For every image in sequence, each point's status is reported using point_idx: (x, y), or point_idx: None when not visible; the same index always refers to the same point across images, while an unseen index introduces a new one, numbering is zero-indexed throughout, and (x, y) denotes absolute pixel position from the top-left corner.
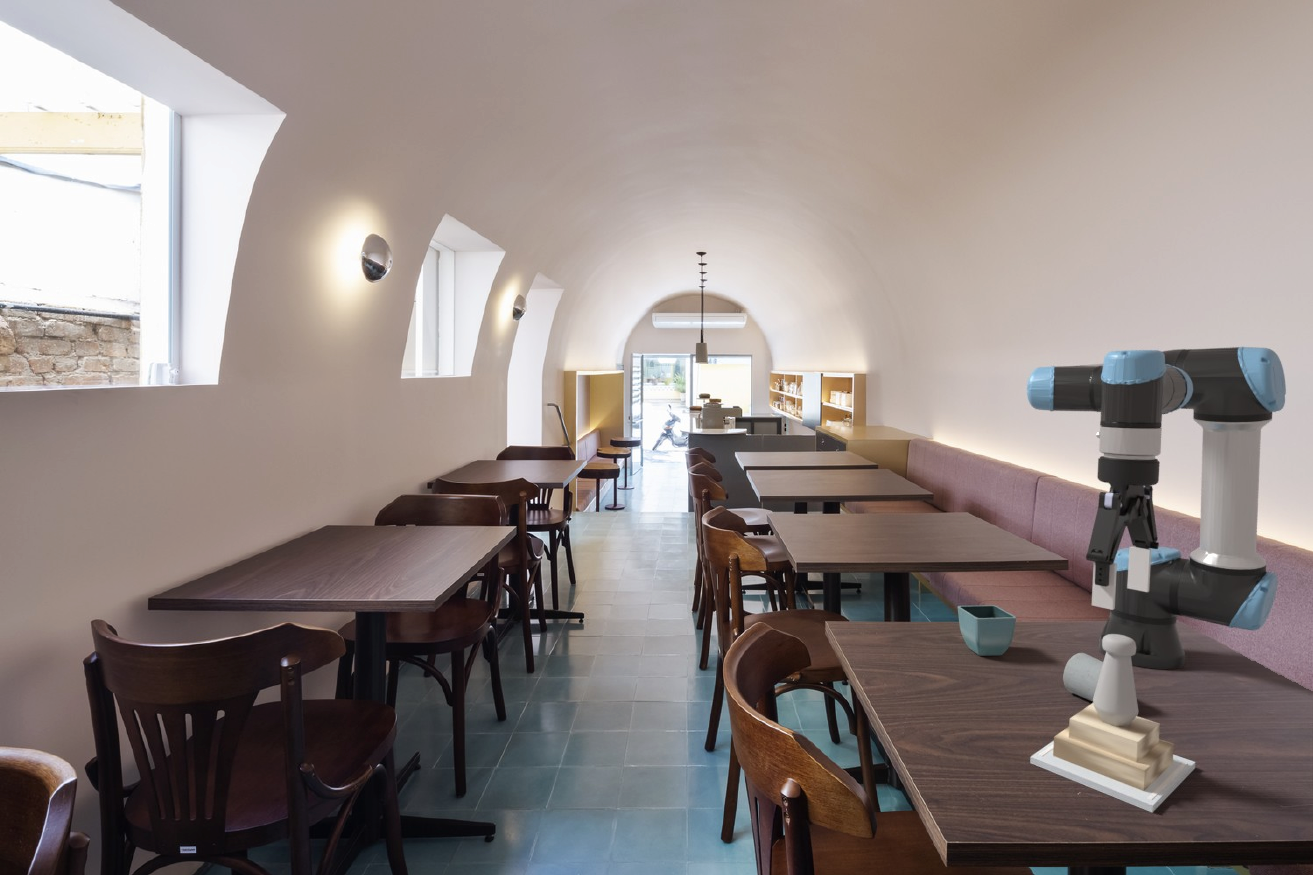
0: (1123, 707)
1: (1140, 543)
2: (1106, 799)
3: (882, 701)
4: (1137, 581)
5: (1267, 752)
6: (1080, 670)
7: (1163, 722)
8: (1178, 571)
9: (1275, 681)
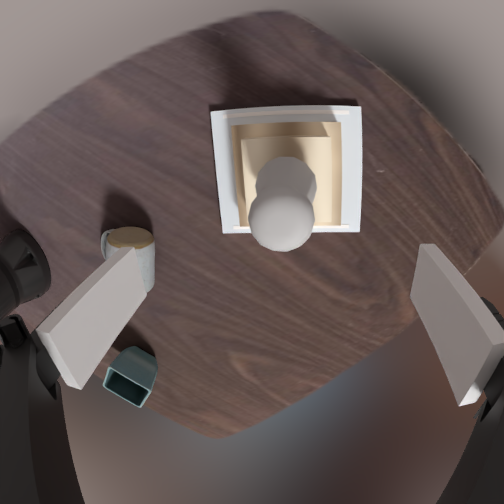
0: (307, 169)
1: (44, 375)
2: (370, 146)
3: (338, 367)
4: (128, 287)
5: (110, 93)
6: (142, 277)
7: (128, 181)
8: None
9: None
